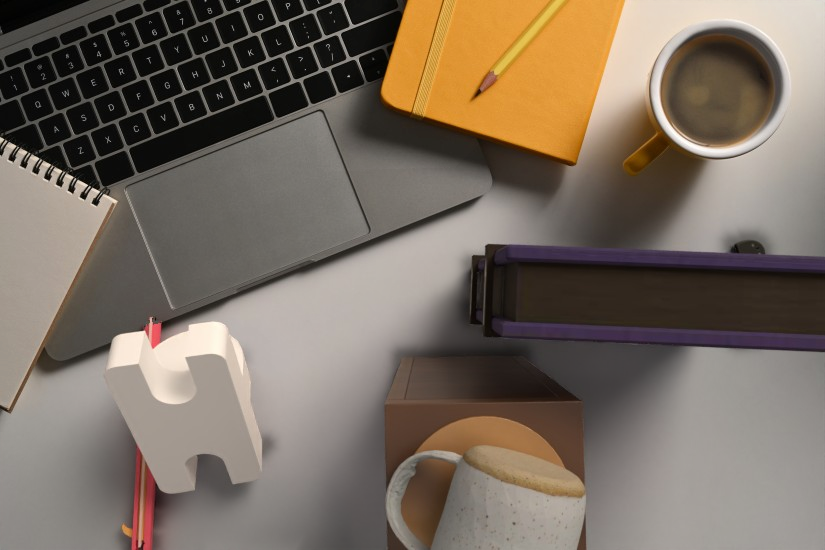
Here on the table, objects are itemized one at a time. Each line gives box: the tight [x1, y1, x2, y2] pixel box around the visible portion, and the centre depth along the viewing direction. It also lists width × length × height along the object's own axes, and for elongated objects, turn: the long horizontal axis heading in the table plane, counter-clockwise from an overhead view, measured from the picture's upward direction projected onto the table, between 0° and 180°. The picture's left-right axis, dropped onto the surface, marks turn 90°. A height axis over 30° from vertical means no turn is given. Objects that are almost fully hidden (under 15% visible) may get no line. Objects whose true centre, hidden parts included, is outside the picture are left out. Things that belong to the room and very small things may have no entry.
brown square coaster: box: [383, 396, 588, 550], centre depth 42 cm, size 12×12×2 cm
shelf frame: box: [385, 355, 577, 401], centre depth 56 cm, size 12×12×26 cm
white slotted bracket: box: [103, 321, 263, 495], centre depth 65 cm, size 10×18×11 cm
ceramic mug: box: [384, 445, 587, 550], centre depth 38 cm, size 11×8×8 cm
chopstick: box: [121, 316, 162, 550], centre depth 69 cm, size 24×2×5 cm
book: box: [468, 243, 825, 353], centre depth 54 cm, size 24×6×30 cm, turn 88°
